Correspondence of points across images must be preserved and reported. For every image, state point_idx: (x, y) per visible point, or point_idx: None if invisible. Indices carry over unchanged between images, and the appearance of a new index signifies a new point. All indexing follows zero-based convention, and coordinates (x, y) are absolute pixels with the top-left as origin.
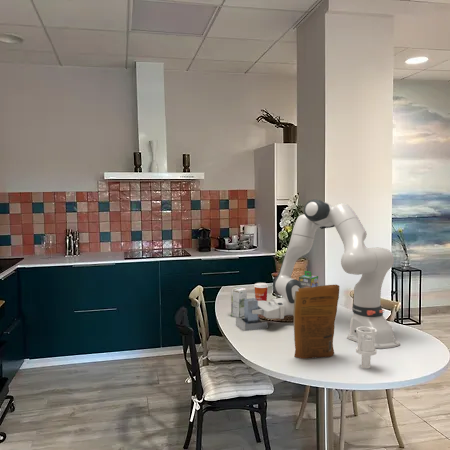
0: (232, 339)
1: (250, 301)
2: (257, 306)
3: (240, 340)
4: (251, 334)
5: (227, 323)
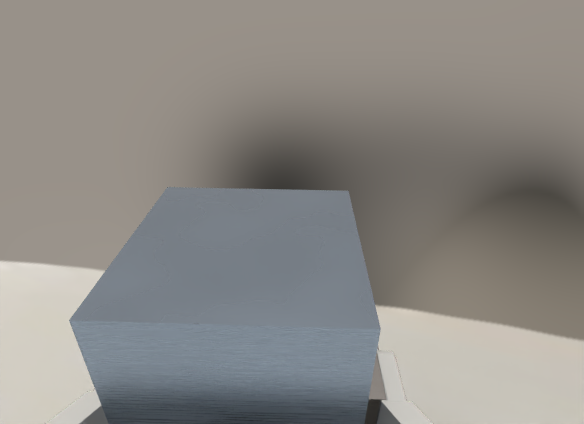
0: (78, 275)
1: (153, 215)
2: (113, 414)
3: (20, 301)
4: (44, 412)
5: (422, 342)
